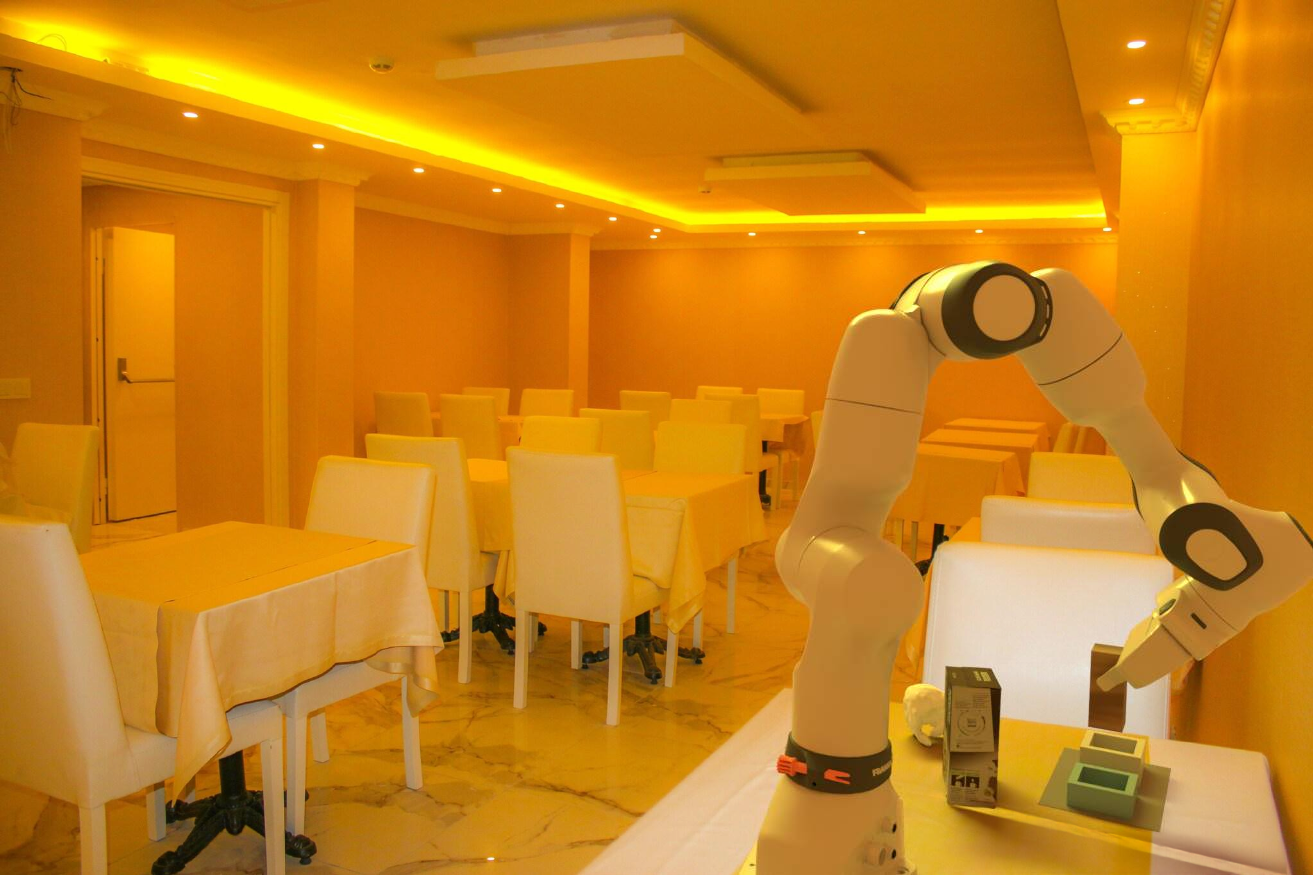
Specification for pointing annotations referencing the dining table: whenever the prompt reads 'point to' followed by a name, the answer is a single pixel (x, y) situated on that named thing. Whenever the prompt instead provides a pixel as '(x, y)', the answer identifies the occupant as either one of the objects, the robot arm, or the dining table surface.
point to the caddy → (1109, 781)
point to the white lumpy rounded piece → (924, 710)
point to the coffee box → (971, 735)
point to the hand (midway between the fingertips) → (1103, 679)
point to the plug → (1111, 704)
